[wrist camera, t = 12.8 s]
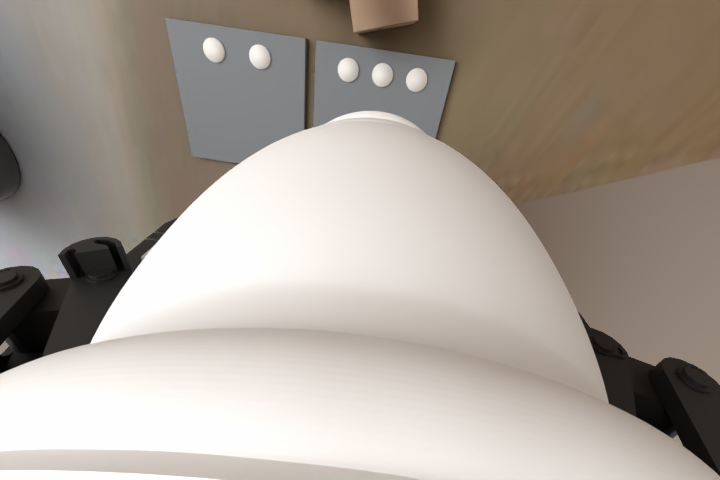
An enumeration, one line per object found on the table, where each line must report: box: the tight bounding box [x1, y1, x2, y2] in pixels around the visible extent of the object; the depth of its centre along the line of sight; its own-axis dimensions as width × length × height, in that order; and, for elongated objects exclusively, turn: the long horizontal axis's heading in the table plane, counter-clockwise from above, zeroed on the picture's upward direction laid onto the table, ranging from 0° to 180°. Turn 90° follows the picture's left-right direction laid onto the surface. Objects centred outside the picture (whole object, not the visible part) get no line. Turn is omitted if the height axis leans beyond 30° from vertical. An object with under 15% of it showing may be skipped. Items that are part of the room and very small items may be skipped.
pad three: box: [313, 40, 455, 138], centre depth 31 cm, size 13×13×1 cm
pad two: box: [165, 18, 307, 163], centre depth 31 cm, size 13×13×1 cm
